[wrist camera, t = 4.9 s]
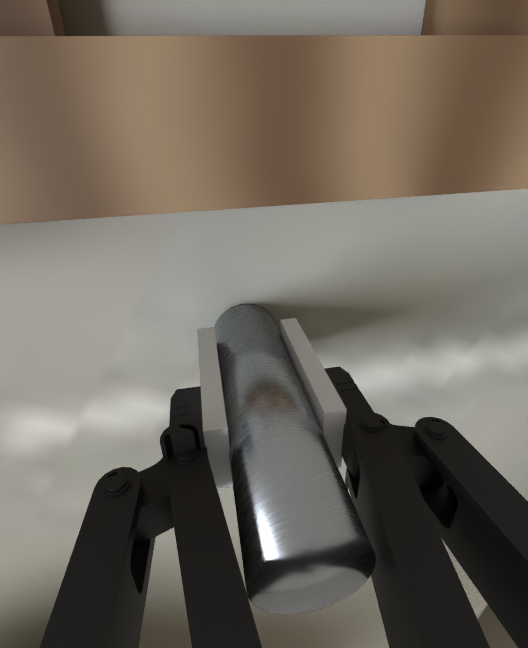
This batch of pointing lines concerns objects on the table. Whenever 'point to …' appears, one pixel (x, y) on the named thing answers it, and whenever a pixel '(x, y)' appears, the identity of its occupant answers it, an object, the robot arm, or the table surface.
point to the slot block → (258, 115)
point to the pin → (284, 477)
